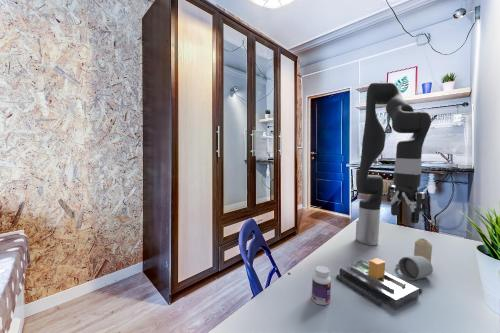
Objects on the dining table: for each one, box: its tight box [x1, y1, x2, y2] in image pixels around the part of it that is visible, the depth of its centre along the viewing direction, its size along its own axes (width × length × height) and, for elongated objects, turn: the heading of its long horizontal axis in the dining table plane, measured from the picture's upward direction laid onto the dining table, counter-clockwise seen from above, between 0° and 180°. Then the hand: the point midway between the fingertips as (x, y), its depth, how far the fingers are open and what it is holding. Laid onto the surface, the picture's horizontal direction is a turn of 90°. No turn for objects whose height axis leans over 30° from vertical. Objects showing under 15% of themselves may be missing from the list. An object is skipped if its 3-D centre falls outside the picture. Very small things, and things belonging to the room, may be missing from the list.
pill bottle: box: [311, 265, 332, 306], centre depth 70 cm, size 5×5×10 cm
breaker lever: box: [368, 257, 386, 279], centre depth 77 cm, size 3×4×5 cm
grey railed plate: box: [335, 273, 423, 307], centre depth 78 cm, size 18×19×1 cm
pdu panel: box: [338, 259, 420, 310], centre depth 78 cm, size 20×12×4 cm, turn 28°
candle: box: [413, 238, 433, 264], centre depth 93 cm, size 6×6×10 cm
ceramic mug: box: [395, 255, 433, 281], centre depth 85 cm, size 11×8×8 cm
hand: (403, 218), depth 79 cm, fingers open, 8 cm apart
